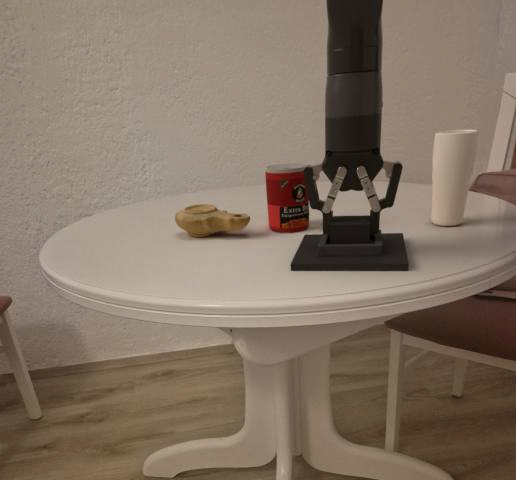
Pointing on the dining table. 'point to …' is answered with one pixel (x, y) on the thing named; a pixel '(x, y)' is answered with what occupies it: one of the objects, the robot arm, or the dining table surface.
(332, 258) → the base pad
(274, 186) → the canned food
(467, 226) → the dining table surface
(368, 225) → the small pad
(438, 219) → the drinking glass
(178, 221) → the oil lamp
